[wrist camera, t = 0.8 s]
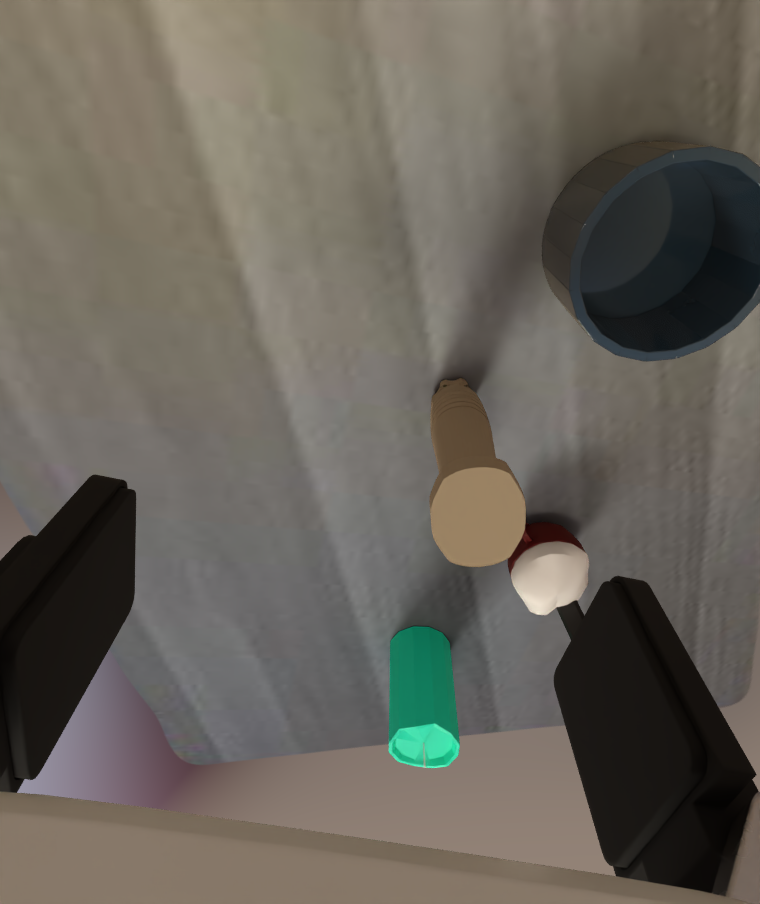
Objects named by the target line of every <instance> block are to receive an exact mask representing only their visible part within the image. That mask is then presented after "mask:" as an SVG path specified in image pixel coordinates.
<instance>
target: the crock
mask: <svg viewBox="0 0 760 904" xmlns="http://www.w3.org/2000/svg"><path fill="white" fill-rule="evenodd" d="M542 261H543V268H544V272H545V276H546V279H547V281H548V284H549V286H550V289H551V290H552V292H553V293H554V295H555V296H556V297H557V299H558V300H559V301H560V302H561V304H562V305H563V306H564V308H565V309H566V310H567V311H568V312H569V314H570V315H571V316H572V317H573V318H574V319H575V321H576V322H577V323H578V324H579V325H580V326H581V327H582V329H583V330H584V331H585V332H586V333H587V334H588V336H589V337H590V338H591V339H592V340H593V341H594V342H595V343H597V344H599V345H600V346H602V347H603V348H605V349H607V350H608V351H610V352H612V353H613V354H615V355H617V356H621V357H626V358H630V359H635V360H640V361H657V360H668V359H676V358H679V357H682V356H685V355H688V354H690V353H693V352H696V351H698V350H701V349H704V348H706V347H708V346H710V345H711V344H713V343H714V342H716V341H717V340H719V339H720V338H722V337H723V336H725V335H726V334H728V333H729V332H731V331H732V330H734V329H735V328H736V327H737V326H738V325H739V324H740V323H741V322H742V321H743V320H744V319H745V318H746V317H747V316H748V314H749V313H750V312H751V311H752V310H753V309H754V308H755V307H756V306H757V305H758V304H759V303H760V167H759V166H758V165H757V164H756V163H754V162H753V161H752V160H750V159H749V158H748V157H747V156H745V155H743V154H741V153H737V152H733V151H729V150H725V149H721V148H717V147H713V146H706V145H696V144H686V143H676V142H666V141H651V142H638V143H631V144H628V145H624V146H620V147H618V148H615V149H613V150H611V151H608V152H606V153H604V154H603V155H601V156H599V157H597V158H596V159H594V160H593V161H592V162H590V163H589V164H587V165H586V166H585V167H584V168H583V169H581V170H580V171H579V172H578V173H577V174H576V175H575V176H574V177H573V178H572V179H571V181H570V182H569V183H568V184H567V185H566V186H565V188H564V189H563V191H562V192H561V194H560V195H559V196H558V198H557V200H556V202H555V204H554V206H553V207H552V209H551V212H550V214H549V217H548V219H547V223H546V226H545V230H544V235H543V242H542Z"/></svg>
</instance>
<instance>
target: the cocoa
mask: <svg viewBox="0 0 760 904" xmlns="http://www.w3.org/2000/svg"><path fill="white" fill-rule="evenodd" d="M508 568H509V573H510V576H511V579H512V583H513V586H514V588H515V589H516V591H517V593H518V594H519V595H520V597H521V598H522V599H523V601H524V603H525V604H526V606H527V607H528V609H529V610H530V612H532V613H535V614H538V615H547V614H548V613H550V612H551V611H552V610H553V609H555V608H557V610H558V613H559V615H560V617H561V619H562V621H563V623H564V626H565V628H566V630H567V632H568V634H569V637H570V639H571V640H572V638H573V637H574V635H575V633H576V631H577V629H578V627H579V625H580V624H581V622H582V620H583V618H584V614H583V612H582V610H581V608H580V606H579V604H578V602H577V601H578V600H579V599H580V597H581V595H582V593H583V592H584V590H585V588H586V586H587V585H588V568H589V560H588V556H587V554H586V553H585V551H584V549H583V547H582V545H581V544H580V542H579V541H578V540H577V539H576V538H575V537H574V536H573V535H572V534H571V533H570V532H569V531H568V530H566V529H565V528H564V527H563V526H561V525H557V524H553V523H549V522H539V523H532V524H530V525H529V523H527V522H525V530H524V533H523V536H522V538H521V540H520V542H519V543H518V545H517V547H516V548H515V550H514V552H513V553H512V555H511V556H510V557H509V558H508Z"/></svg>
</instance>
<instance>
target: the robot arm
mask: <svg viewBox="0 0 760 904" xmlns="http://www.w3.org/2000/svg"><path fill="white" fill-rule="evenodd" d="M135 533H136V493H135V491H134V490H131V489H128V488H127V483H126V481H124V480H120V479H115V478H110V477H105V476H100V475H92V476H91V477H89V478H88V479H87V481H86V482H85V483H84V484H83V485H82V486H81V487H80V488H79V489H78V491H77V492H76V493H75V494H74V495H73V496H72V497H71V498H70V499H69V501H68V502H67V503H66V504H65V505H64V506H63V507H62V508H61V509H60V511H59V512H58V513H57V514H56V515H55V516H54V517H53V518H52V519H51V520H50V522H49V523H48V524H47V525H46V526H45V527H44V528H43V529H42V530H41V532H40V533H39V534H38V535H37V536H32V535H28V536H26V537H23V538H22V539H21V540H20V541H19V542H17V543H16V544H15V545H14V547H13V548H12V549H11V550H10V551H9V552H8V553H7V554H6V555H5V556H4V557H3V558H2V559H1V561H0V904H760V792H759V791H758V789H757V787H756V786H755V784H754V782H753V780H752V779H753V778H754V777H755V775H756V773H755V771H754V769H753V768H752V766H751V764H750V762H749V760H748V759H747V757H746V755H745V753H744V752H743V750H742V748H741V747H740V745H739V743H738V741H737V739H736V738H735V736H734V734H733V732H732V730H731V729H730V727H729V725H728V723H727V722H726V720H725V718H724V716H723V715H722V713H721V711H720V709H719V708H718V706H717V704H716V702H715V701H714V699H713V697H712V695H711V693H710V692H709V690H708V688H707V686H706V685H705V683H704V681H703V679H702V678H701V676H700V674H699V672H698V671H697V669H696V667H695V665H694V664H693V662H692V660H691V658H690V656H689V655H688V653H687V651H686V649H685V648H684V646H683V644H682V642H681V641H680V639H679V637H678V635H677V634H676V632H675V630H674V628H673V627H672V625H671V623H670V621H669V619H668V618H667V616H666V614H665V612H664V611H663V609H662V607H661V605H660V604H659V602H658V600H657V598H656V597H655V595H654V593H653V591H652V589H651V588H650V586H649V585H648V584H647V583H646V582H644V581H641V580H636V579H631V578H626V577H621V576H615V577H614V578H612V579H611V580H610V582H609V581H606V582H604V583H603V584H602V585H601V587H600V588H599V590H598V592H597V594H596V596H595V598H594V600H593V601H592V603H591V605H590V607H589V609H588V611H587V612H586V614H585V616H584V618H583V620H582V622H581V624H580V625H579V627H578V629H577V631H576V633H575V635H574V637H573V638H572V640H571V642H570V644H569V646H568V648H567V649H566V651H565V653H564V655H563V657H562V659H561V661H560V662H559V664H558V666H557V668H556V670H555V674H554V687H555V691H556V695H557V698H558V701H559V705H560V708H561V712H562V715H563V719H564V722H565V726H566V729H567V732H568V736H569V739H570V743H571V746H572V750H573V753H574V757H575V760H576V764H577V767H578V770H579V774H580V777H581V781H582V784H583V788H584V791H585V794H586V798H587V802H588V805H589V808H590V812H591V815H592V819H593V822H594V826H595V829H596V833H597V836H598V839H599V843H600V846H601V850H602V853H603V856H604V858H605V860H606V862H607V863H608V864H609V865H611V866H613V867H614V871H615V874H616V876H610V875H604V874H597V873H591V872H585V871H577V870H571V869H564V868H558V867H552V866H545V865H538V864H532V863H526V862H519V861H512V860H506V859H499V858H493V857H486V856H479V855H473V854H466V853H459V852H452V851H445V850H439V849H432V848H426V847H419V846H412V845H405V844H398V843H392V842H385V841H378V840H371V839H364V838H357V837H350V836H343V835H337V834H330V833H323V832H316V831H309V830H302V829H296V828H288V827H281V826H274V825H267V824H260V823H253V822H245V821H239V820H232V819H225V818H218V817H210V816H203V815H196V814H188V813H181V812H175V811H168V810H161V809H154V808H146V807H138V806H130V805H122V804H114V803H106V802H98V801H89V800H81V799H73V798H65V797H56V796H49V795H39V794H25V793H17V791H18V790H19V788H20V786H21V784H22V783H23V781H24V779H30V780H33V779H35V778H36V777H37V775H38V774H39V773H40V771H41V769H42V768H43V766H44V764H45V763H46V760H47V759H48V757H49V755H50V754H51V752H52V750H53V748H54V746H55V745H56V743H57V741H58V739H59V737H60V736H61V734H62V732H63V730H64V728H65V727H66V725H67V723H68V721H69V720H70V718H71V716H72V714H73V712H74V711H75V709H76V707H77V705H78V704H79V702H80V700H81V698H82V696H83V695H84V693H85V691H86V689H87V687H88V685H89V684H90V682H91V680H92V679H93V677H94V675H95V673H96V671H97V669H98V668H99V666H100V664H101V662H102V660H103V659H104V657H105V655H106V654H107V652H108V650H109V648H110V646H111V645H112V643H113V641H114V639H115V638H116V636H117V634H118V632H119V630H120V629H121V627H122V625H123V623H124V621H125V620H126V618H127V616H128V614H129V612H130V610H131V607H132V604H133V600H134V593H135Z"/></svg>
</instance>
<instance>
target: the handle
mask: <svg viewBox="0 0 760 904" xmlns="http://www.w3.org/2000/svg"><path fill="white" fill-rule="evenodd" d="M431 407H432V408H431V436H432V443H433V447H434V452H435V456H436V460H437V465H438V469H439V475H438V477H437V479H436V481H435V484H434V486H433V488H432V491H431V494H430V501H429V502H430V513H431V525H432V533H433V537H434V540H435V542H436V544H437V545H438V547H439V548H440V550H441V551H442V552H443V554H444V555H445V556H446V558H447V559H448V560H449V561H450V562H452V563H454V564H457V565H461V566H468V567H482V566H489V565H493V564H497V563H500V562H502V561H504V560H506V559H508V558H509V557H510V556H511V555H512V553H513V552H514V550H515V548H516V547H517V545H518V543H519V542H520V540H521V538H522V536H523V533H524V530H525V522H526V506H525V499H524V496H523V492H522V490H521V488H520V486H519V483H518V481H517V480H516V478H515V476H514V474H513V473H512V471H511V469H510V468H509V466H508V465H507V463H506V462H504V461H502V460H500V459H497V458H496V456H495V450H494V444H493V438H492V432H491V427H490V424H489V421H488V418H487V414H486V412H485V410H484V407H483V405H482V403H481V401H480V399H479V398H478V396H477V395H476V393H475V392H474V391H472V390H471V389H470V388H469V387H468V384H467V382H466V380H464V379H462V378H459V379H458V380H454V381H449V380H443V381H442V382H441V383H440V387H439V390H438V391H437V393H436V394H434V395H433V397H432V401H431Z"/></svg>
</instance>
